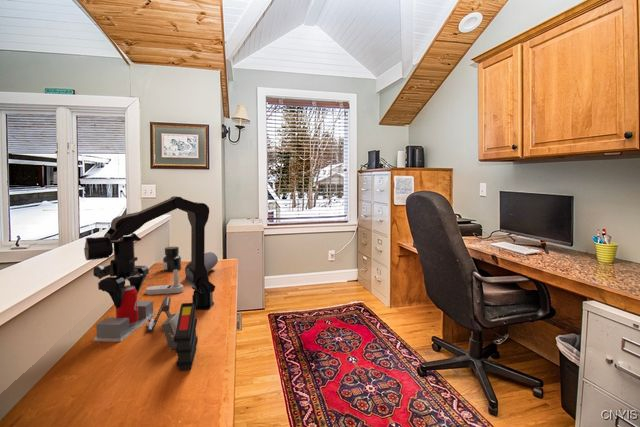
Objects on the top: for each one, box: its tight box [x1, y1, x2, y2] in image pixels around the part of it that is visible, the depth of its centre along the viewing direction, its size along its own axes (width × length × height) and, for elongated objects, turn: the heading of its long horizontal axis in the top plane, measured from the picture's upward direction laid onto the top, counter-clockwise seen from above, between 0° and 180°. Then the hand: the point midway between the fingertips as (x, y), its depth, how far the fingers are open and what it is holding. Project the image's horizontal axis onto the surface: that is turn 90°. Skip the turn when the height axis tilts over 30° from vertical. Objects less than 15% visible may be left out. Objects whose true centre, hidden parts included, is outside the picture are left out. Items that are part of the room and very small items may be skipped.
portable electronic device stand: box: [146, 296, 172, 334], centre depth 112 cm, size 9×8×8 cm
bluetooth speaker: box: [184, 251, 219, 274], centre depth 172 cm, size 23×9×10 cm, turn 178°
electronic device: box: [145, 269, 185, 296], centre depth 145 cm, size 5×10×15 cm
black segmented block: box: [174, 302, 199, 372], centre depth 90 cm, size 4×13×15 cm, turn 13°
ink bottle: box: [162, 246, 182, 272], centre depth 182 cm, size 10×9×12 cm
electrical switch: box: [161, 310, 180, 351], centre depth 99 cm, size 9×5×9 cm, turn 2°
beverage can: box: [115, 284, 139, 325], centre depth 110 cm, size 6×6×12 cm
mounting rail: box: [93, 310, 156, 343], centre depth 111 cm, size 8×21×1 cm, turn 0°
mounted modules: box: [95, 300, 154, 338], centre depth 111 cm, size 7×20×4 cm, turn 0°
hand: (126, 302), depth 110 cm, fingers open, 9 cm apart
